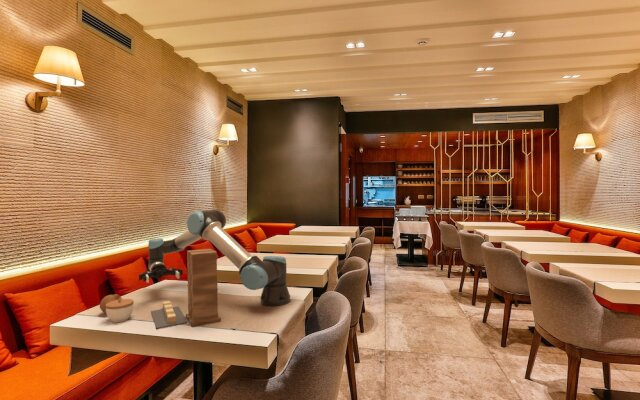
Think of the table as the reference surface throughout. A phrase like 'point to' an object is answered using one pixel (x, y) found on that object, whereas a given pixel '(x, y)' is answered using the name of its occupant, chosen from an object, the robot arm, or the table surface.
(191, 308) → the walnut pedestal
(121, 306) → the lidded jar
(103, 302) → the onion
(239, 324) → the table surface
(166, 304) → the maple bar
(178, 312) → the rubber mat
